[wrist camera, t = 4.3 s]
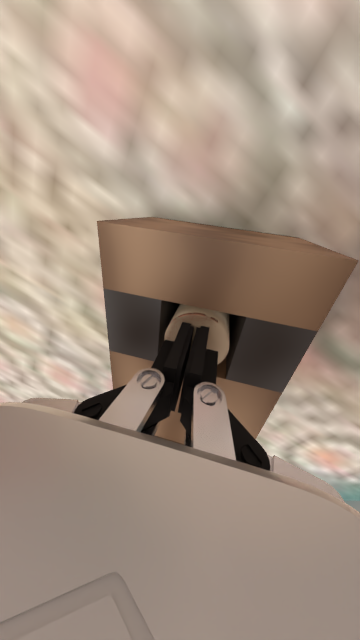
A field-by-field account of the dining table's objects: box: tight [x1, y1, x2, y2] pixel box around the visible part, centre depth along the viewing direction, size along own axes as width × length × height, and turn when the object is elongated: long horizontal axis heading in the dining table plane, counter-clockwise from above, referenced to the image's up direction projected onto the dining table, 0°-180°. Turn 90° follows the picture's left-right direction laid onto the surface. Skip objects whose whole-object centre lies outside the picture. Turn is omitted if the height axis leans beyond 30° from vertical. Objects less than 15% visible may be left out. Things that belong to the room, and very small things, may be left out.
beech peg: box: [164, 304, 229, 365], centre depth 15 cm, size 4×4×8 cm
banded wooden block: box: [97, 217, 358, 444], centre depth 19 cm, size 12×26×8 cm, turn 173°
